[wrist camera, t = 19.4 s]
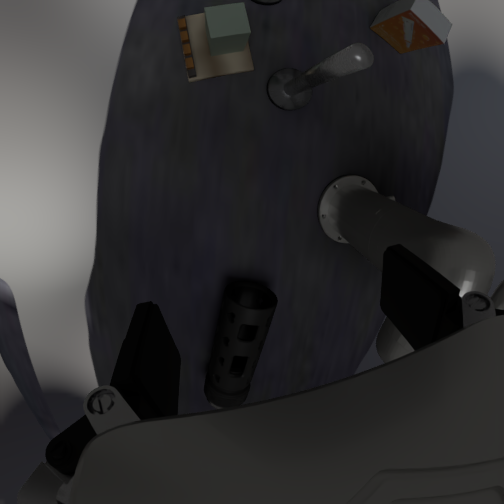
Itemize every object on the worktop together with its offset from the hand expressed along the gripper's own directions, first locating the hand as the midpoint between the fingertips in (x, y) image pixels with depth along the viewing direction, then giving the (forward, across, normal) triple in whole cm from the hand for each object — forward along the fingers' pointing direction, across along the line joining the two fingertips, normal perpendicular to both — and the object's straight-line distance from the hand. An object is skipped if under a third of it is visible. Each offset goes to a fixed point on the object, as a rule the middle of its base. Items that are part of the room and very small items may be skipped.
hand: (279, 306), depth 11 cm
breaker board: (+36, -2, -22) cm, 42 cm away
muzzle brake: (+37, +6, +32) cm, 49 cm away
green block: (+35, -3, -22) cm, 42 cm away
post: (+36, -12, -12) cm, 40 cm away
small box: (+36, -35, -24) cm, 56 cm away
